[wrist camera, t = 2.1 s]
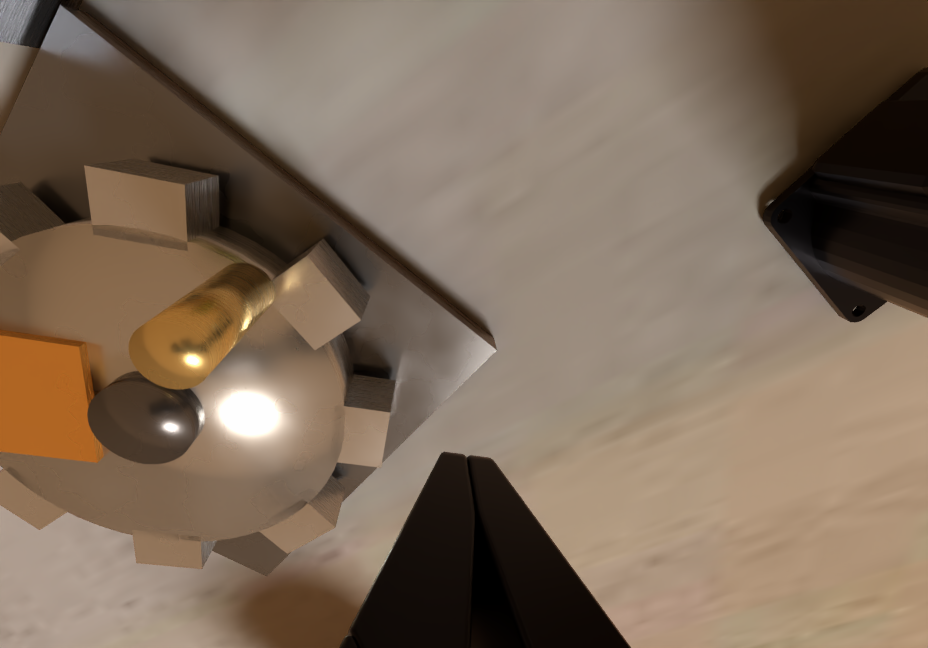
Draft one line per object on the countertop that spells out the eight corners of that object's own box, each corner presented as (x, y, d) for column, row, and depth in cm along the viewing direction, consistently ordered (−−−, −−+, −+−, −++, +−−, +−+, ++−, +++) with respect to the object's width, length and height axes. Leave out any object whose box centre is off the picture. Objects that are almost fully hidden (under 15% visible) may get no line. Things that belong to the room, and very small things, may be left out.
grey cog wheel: (477, 356, 16) (495, 474, 11) (259, 573, 21) (195, 735, 15) (61, 36, 12) (-262, -33, 6) (-111, 399, 16) (-393, 545, 11)
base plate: (494, 338, 18) (496, 350, 17) (273, 557, 22) (266, 576, 21) (87, 12, 13) (60, 4, 12) (-91, 380, 17) (-120, 395, 16)
